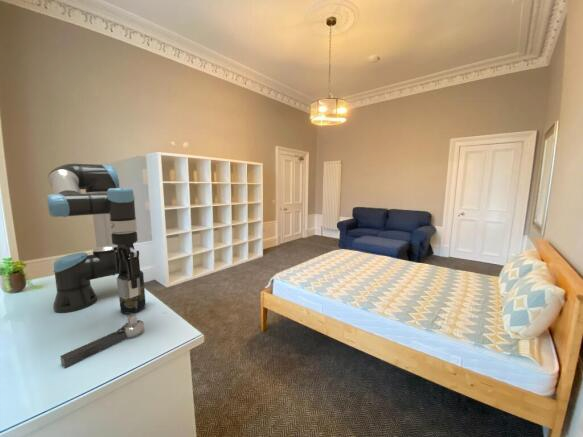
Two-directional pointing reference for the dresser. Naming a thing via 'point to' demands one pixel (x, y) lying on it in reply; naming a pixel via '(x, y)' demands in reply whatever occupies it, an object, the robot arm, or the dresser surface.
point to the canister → (134, 300)
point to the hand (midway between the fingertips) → (129, 294)
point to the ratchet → (105, 341)
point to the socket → (125, 286)
